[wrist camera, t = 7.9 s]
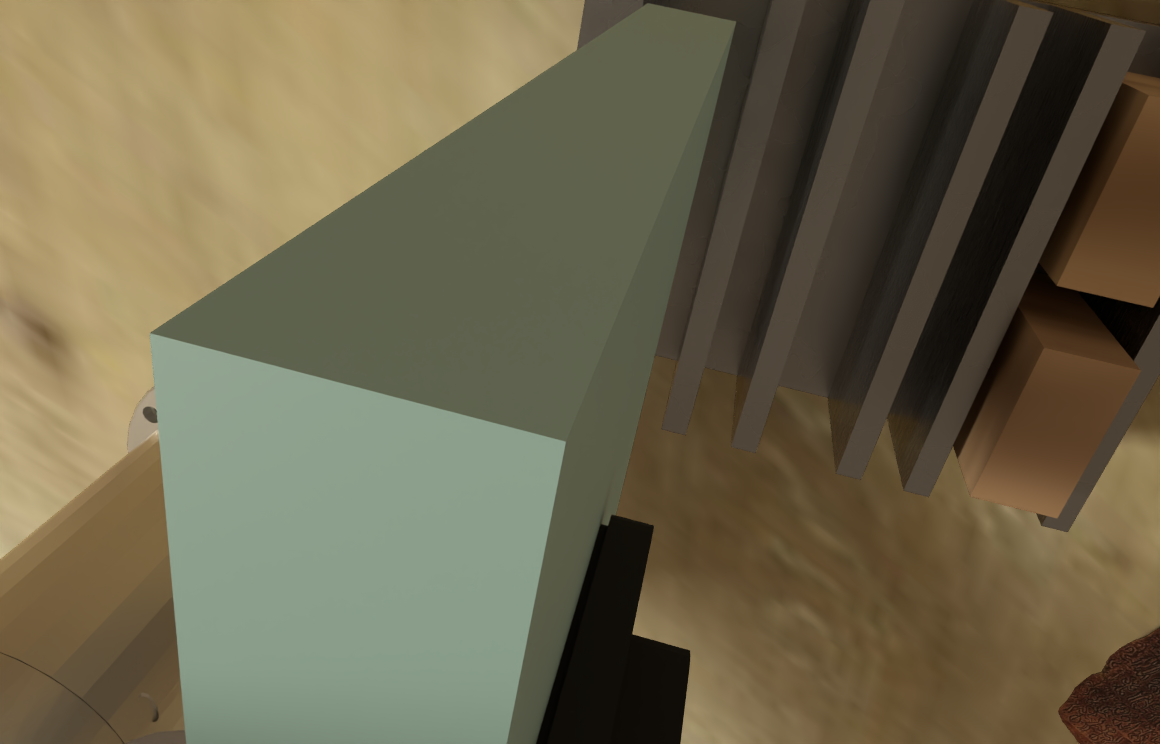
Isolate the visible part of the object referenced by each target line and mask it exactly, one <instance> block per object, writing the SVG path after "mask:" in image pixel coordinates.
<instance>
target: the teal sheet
mask: <svg viewBox="0 0 1160 744" xmlns="http://www.w3.org/2000/svg"><path fill="white" fill-rule="evenodd" d="M735 25H736V21H731V20H726V19H721V18H717V17H712V16H707V15H702V14H698V13H693V12H688V11H683V10H678V9H674V8H669V7H664V6H659V5H655V4H650V3H647V4H646V5H644V6H643V7H641V8H640V9H638V10H637V11H635V12H634V13H632V14H631V15H629V16H628V17H626V18H625V19H623V20H622V21H620V22H619V23H617V24H616V25H614V26H613V27H611V28H610V29H608V30H607V31H605V32H604V33H602V34H601V35H599V36H598V37H596V38H595V39H593V40H592V41H590V42H589V43H587V44H586V45H584V46H582V47H581V48H579V49H578V50H576V51H575V52H573V53H572V54H570V55H569V56H567V57H566V58H564V59H563V60H561V61H560V62H558V63H557V64H555V65H554V66H552V67H551V68H549V69H548V70H546V71H545V72H543V73H542V74H540V75H539V76H537V77H536V78H534V79H533V80H531V81H530V82H528V83H527V84H525V85H524V86H522V87H521V88H519V89H518V90H516V91H515V92H513V93H512V94H510V95H509V96H507V97H505V98H504V99H502V100H501V101H499V102H498V103H496V104H495V105H493V106H492V107H490V108H489V109H487V110H486V111H484V112H483V113H481V114H480V115H478V116H477V117H475V118H474V119H472V120H471V121H469V122H468V123H466V124H465V125H463V126H462V127H460V128H459V129H457V130H456V131H454V132H453V133H451V134H450V135H448V136H447V137H445V138H444V139H442V140H441V141H439V142H438V143H436V144H435V145H433V146H432V147H430V148H428V149H427V150H425V151H424V152H422V153H421V154H419V155H418V156H416V157H415V158H413V159H412V160H410V161H409V162H407V163H406V164H404V165H403V166H401V167H400V168H398V169H397V170H395V171H394V172H392V173H391V174H389V175H388V176H386V177H385V178H383V179H382V180H380V181H379V182H377V183H376V184H374V185H373V186H371V187H370V188H368V189H367V190H365V191H364V192H362V193H361V194H359V195H358V196H356V197H355V198H353V199H351V200H350V201H348V202H347V203H345V204H344V205H342V206H341V207H339V208H338V209H336V210H335V211H333V212H332V213H330V214H329V215H327V216H326V217H324V218H323V219H321V220H320V221H318V222H317V223H315V224H314V225H312V226H311V227H309V228H308V229H306V230H305V231H303V232H302V233H300V234H299V235H297V236H296V237H294V238H293V239H291V240H290V241H288V242H287V243H285V244H284V245H282V246H281V247H279V248H278V249H276V250H275V251H273V252H271V253H270V254H268V255H267V256H265V257H264V258H262V259H261V260H259V261H258V262H256V263H255V264H253V265H252V266H250V267H249V268H247V269H246V270H244V271H243V272H241V273H240V274H238V275H237V276H235V277H234V278H232V279H231V280H229V281H228V282H226V283H225V284H223V285H222V286H220V287H219V288H217V289H216V290H214V291H213V292H211V293H210V294H208V295H207V296H205V297H204V298H202V299H201V300H199V301H198V302H196V303H194V304H193V305H191V306H190V307H188V308H187V309H185V310H184V311H182V312H181V313H179V314H178V315H176V316H175V317H173V318H172V319H170V320H169V321H167V322H166V323H164V324H163V325H161V326H160V327H158V328H157V329H155V330H154V331H152V332H151V333H150V342H151V353H152V364H153V375H154V387H155V398H156V409H157V420H158V432H159V443H160V454H161V465H162V477H163V488H164V499H165V510H166V522H167V533H168V544H169V555H170V567H171V578H172V589H173V600H174V612H175V623H176V634H177V646H178V657H179V668H180V679H181V691H182V702H183V713H184V724H185V736H186V744H536V742H537V739H538V735H539V732H540V729H541V725H542V722H543V718H544V715H545V712H546V708H547V705H548V701H549V698H550V695H551V691H552V688H553V684H554V681H555V677H556V674H557V671H558V667H559V664H560V660H561V657H562V654H563V650H564V647H565V643H566V640H567V637H568V633H569V630H570V626H571V623H572V620H573V616H574V613H575V609H576V606H577V603H578V599H579V596H580V592H581V589H582V585H583V582H584V579H585V575H586V572H587V568H588V565H589V562H590V558H591V555H592V551H593V548H594V545H595V541H596V538H597V534H598V531H599V528H600V525H601V524H603V525H607V526H608V524H609V521H610V517H611V514H612V515H616V513H617V509H618V505H619V501H620V496H621V492H622V488H623V484H624V480H625V476H626V472H627V468H628V464H629V460H630V455H631V451H632V447H633V443H634V439H635V435H636V431H637V427H638V423H639V419H640V414H641V410H642V406H643V402H644V398H645V394H646V390H647V386H648V382H649V378H650V373H651V369H652V365H653V361H654V357H655V353H656V349H657V345H658V341H659V337H660V332H661V328H662V324H663V320H664V316H665V312H666V308H667V304H668V300H669V295H670V291H671V287H672V283H673V279H674V275H675V271H676V267H677V263H678V259H679V254H680V250H681V246H682V242H683V238H684V234H685V230H686V226H687V222H688V218H689V213H690V209H691V205H692V201H693V197H694V193H695V189H696V185H697V181H698V177H699V172H700V168H701V164H702V160H703V156H704V152H705V148H706V144H707V140H708V136H709V131H710V127H711V123H712V119H713V115H714V111H715V107H716V103H717V99H718V95H719V90H720V86H721V82H722V78H723V74H724V70H725V66H726V62H727V58H728V54H729V49H730V45H731V41H732V37H733V33H734V29H735Z"/></svg>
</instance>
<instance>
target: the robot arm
mask: <svg viewBox="0 0 1160 744" xmlns="http://www.w3.org/2000/svg"><path fill="white" fill-rule="evenodd" d="M127 449H128V454H127V455H126V456H125V457H123V458H122V459H121V460H120V461H119V462H117V463H116V464H115V465H114V466H112V467H111V468H110V469H109V470H108V471H106V472H105V473H104V474H103V475H102V476H100V477H99V478H98V479H97V480H96V481H94V482H93V483H92V484H91V485H90V486H88V487H87V488H86V489H85V490H84V491H82V492H81V493H80V494H79V495H77V496H76V497H75V498H74V499H73V500H71V501H70V502H69V503H68V504H67V505H65V506H64V507H63V508H62V509H61V510H59V511H58V512H57V513H56V514H55V515H53V516H52V517H51V518H50V519H48V520H47V521H46V522H45V523H44V524H42V525H41V526H40V527H39V528H38V529H36V530H35V531H34V532H33V533H32V534H30V535H29V536H28V537H27V538H26V539H24V540H23V541H22V542H21V543H20V544H18V545H17V546H16V547H15V548H13V549H12V550H11V551H10V552H9V553H7V554H6V555H5V556H4V557H3V558H1V559H0V744H186V736H185V724H184V713H183V702H182V691H181V679H180V668H179V657H178V646H177V634H176V623H175V612H174V600H173V589H172V578H171V567H170V555H169V544H168V533H167V522H166V510H165V499H164V488H163V477H162V465H161V454H160V443H159V432H158V420H157V409H156V398H155V387H152V388H151V389H150V390H149V391H147V392H146V394H145V395H144V396H143V397H142V399H141V400H140V401H139V402H138V404H137V406H136V408H135V410H134V413H133V416H132V418H131V421H130V423H129V430H128V439H127ZM653 529H654V526H653V525H649V524H645V523H642V522H638V521H634V520H631V519H627V518H623V517H619V516H616V515H612V514H611V517H610V521H609V524H608V526H607V525H603V524H601V525H600V528H599V531H598V534H597V538H596V541H595V545H594V548H593V551H592V555H591V558H590V562H589V565H588V568H587V572H586V575H585V579H584V582H583V585H582V589H581V592H580V596H579V599H578V603H577V606H576V609H575V613H574V616H573V620H572V623H571V626H570V630H569V633H568V637H567V640H566V643H565V647H564V650H563V654H562V657H561V660H560V664H559V667H558V671H557V674H556V677H555V681H554V684H553V688H552V691H551V695H550V698H549V701H548V705H547V708H546V712H545V715H544V718H543V722H542V725H541V729H540V732H539V735H538V739H537V742H536V744H680V742H681V733H682V725H683V717H684V708H685V700H686V692H687V683H688V675H689V666H690V650H686V649H683V648H679V647H676V646H672V645H668V644H665V643H661V642H658V641H654V640H651V639H647V638H643V637H640V636H636V635H633V634H632V631H633V626H634V622H635V617H636V612H637V607H638V602H639V597H640V592H641V588H642V583H643V578H644V573H645V568H646V563H647V558H648V554H649V549H650V544H651V539H652V534H653Z"/></svg>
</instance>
